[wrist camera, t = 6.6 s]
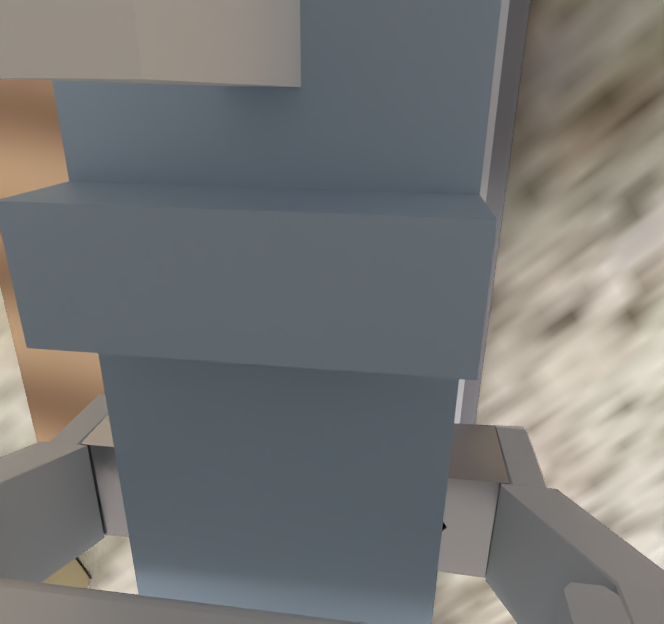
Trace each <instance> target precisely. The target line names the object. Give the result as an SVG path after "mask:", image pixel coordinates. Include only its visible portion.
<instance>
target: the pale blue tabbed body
mask: <svg viewBox="0 0 664 624" xmlns="http://www.w3.org/2000/svg"><path fill="white" fill-rule="evenodd" d="M501 1H502V0H0V79H21V80H51V81H52V83H53V89H54V95H55V101H56V107H57V112H58V118H59V124H60V130H61V136H62V142H63V148H64V154H65V160H66V166H67V172H68V178H69V181H68V182H64V183H60V184H56V185H52V186H49V187H45V188H41V189H37V190H33V191H29V192H26V193H22V194H18V195H14V196H10V197H6V198H3V199H0V230H1V235H2V239H3V244H4V248H5V253H6V257H7V262H8V266H9V271H10V275H11V280H12V284H13V289H14V293H15V298H16V302H17V307H18V311H19V316H20V320H21V325H22V329H23V333H24V338H25V342H26V347H27V348H32V349H46V350H60V351H74V352H88V353H98V355H99V361H100V367H101V373H102V379H103V385H104V391H105V397H106V403H107V409H108V415H109V421H110V427H111V432H112V438H113V444H114V450H115V456H116V462H117V468H118V474H119V480H120V486H121V492H122V498H123V504H124V510H125V515H126V521H127V527H128V533H129V539H130V545H131V551H132V557H133V563H134V569H135V575H136V581H137V587H138V593H139V595H143V596H151V597H159V598H167V599H176V600H184V601H192V602H200V603H208V604H216V605H224V606H232V607H240V608H248V609H256V610H264V611H272V612H281V613H289V614H297V615H305V616H313V617H320V618H328V619H336V620H344V621H352V622H360V623H368V624H432V616H433V607H434V598H435V589H436V580H437V571H438V562H439V553H440V545H441V536H442V527H443V518H444V509H445V500H446V491H447V482H448V473H449V464H450V455H451V447H452V438H453V429H454V420H455V411H456V402H457V393H458V384H459V379H465V380H477V377H478V369H479V361H480V353H481V346H482V338H483V330H484V322H485V314H486V306H487V298H488V290H489V282H490V274H491V267H492V259H493V251H494V243H495V235H496V227H497V219H496V217H495V216H494V214H493V213H492V211H491V210H490V209H489V207H488V206H487V204H486V203H485V201H484V200H483V198H482V197H481V196H480V188H481V179H482V171H483V162H484V153H485V144H486V135H487V126H488V117H489V108H490V99H491V90H492V82H493V73H494V64H495V55H496V46H497V37H498V28H499V19H500V10H501Z"/></svg>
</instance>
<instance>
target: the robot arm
mask: <svg viewBox="0 0 664 624" xmlns="http://www.w3.org/2000/svg"><path fill="white" fill-rule="evenodd" d="M104 535H112V536H125V537H129V533H128V527H127V521H126V515H125V510H124V504H123V498H122V492H121V486H120V480H119V474H118V468H117V462H116V456H115V450H114V444H113V438H112V432H111V427H110V421H109V415H108V409H107V403H106V397H105V394H100V395H98V396H97V397H96V398H95V399H94V400H93V401H92V402H91V403H90V404H88V405H87V406H86V407H85V408H84V409H83V410H82V411H81V412H80V413H79V414H78V415H77V416H76V417H75V418H74V419H73V420H72V421H71V422H70V423H69V424H68V425H67V426H66V427H65V428H64V429H62V430H61V431H60V432H59V433H58V434H57V435H56V436H55V437H54V438H53V439H52V440H51V441H50V442H45V441H40V442H38V443H35V444H33V445H30V446H28V447H25V448H23V449H20V450H18V451H15V452H13V453H10V454H8V455H5V456H3V457H0V624H368V623H360V622H352V621H344V620H336V619H328V618H320V617H313V616H305V615H297V614H289V613H281V612H272V611H264V610H256V609H248V608H240V607H232V606H224V605H216V604H208V603H200V602H192V601H184V600H176V599H167V598H159V597H151V596H143V595H135V594H127V593H119V592H111V591H103V590H95V589H87V588H79V587H71V586H64V585H56V584H48V583H42V582H43V581H45V580H46V579H47V578H49V577H50V576H52V575H53V574H54V573H56V572H57V571H58V570H60V569H61V568H63V567H64V566H65V565H67V564H68V563H70V562H71V561H72V560H74V559H75V558H77V557H78V556H79V555H81V554H82V553H84V552H85V551H86V550H88V549H89V548H90V547H92V546H93V545H95V544H96V543H97V542H99V541H100V540H102V539H103V538H104ZM438 571H440V572H448V573H455V574H462V575H469V576H476V577H483V578H486V582H487V583H488V584H489V586H490V587H491V588H492V590H493V591H494V592H495V594H496V595H497V596H498V598H499V599H500V600H501V602H502V603H503V604H504V606H505V607H506V608H507V610H508V611H509V613H510V614H511V615H512V617H513V618H514V619H515V621H516V622H517V623H518V624H664V570H663V569H661V568H660V567H659V566H657V565H656V564H655V563H653V562H652V561H651V560H649V559H648V558H647V557H646V556H644V555H643V554H642V553H640V552H639V551H638V550H636V549H635V548H634V547H632V546H631V545H630V544H628V543H627V542H626V541H624V540H623V539H622V538H621V537H619V536H618V535H617V534H615V533H614V532H613V531H611V530H610V529H609V528H607V527H606V526H605V525H603V524H602V523H601V522H599V521H598V520H597V519H596V518H594V517H593V516H592V515H590V514H589V513H588V512H586V511H585V510H584V509H582V508H581V507H580V506H578V505H577V504H576V503H574V502H573V501H572V500H571V499H569V498H568V497H567V496H565V495H564V494H563V493H561V492H560V491H559V490H557V489H552V488H547V485H546V482H545V479H544V477H543V474H542V471H541V468H540V465H539V463H538V460H537V457H536V454H535V451H534V449H533V446H532V443H531V440H530V438H529V435H528V432H527V429H525V428H524V427H521V426H499V425H476V424H459V423H454V429H453V438H452V447H451V455H450V464H449V473H448V482H447V491H446V500H445V509H444V518H443V527H442V536H441V545H440V553H439V562H438Z"/></svg>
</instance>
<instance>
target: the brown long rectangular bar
mask: <svg viewBox="0 0 664 624" xmlns="http://www.w3.org/2000/svg"><path fill="white" fill-rule="evenodd" d="M68 181H69V178H68V172H67V166H66V160H65V154H64V148H63V142H62V136H61V130H60V124H59V118H58V112H57V107H56V101H55V95H54V89H53V83H52V81H51V80H21V79H0V199H3V198H6V197H10V196H14V195H18V194H22V193H26V192H29V191H33V190H37V189H41V188H45V187H49V186H52V185H56V184H60V183H64V182H68ZM0 287H1V291H2V295H3V300H4V304H5V308H6V312H7V316H8V321H9V325H10V329H11V333H12V337H13V342H14V346H15V350H16V354H17V358H18V363H19V367H20V371H21V375H22V380H23V384H24V388H25V392H26V396H27V401H28V405H29V409H30V413H31V417H32V422H33V426H34V430H35V434H36V438H37V443H38V442H40V441H45V442H50V441H51V440H52V439H53V438H54V437H55V436H56V435H57V434H58V433H59V432H60V431H61V430H62V429H64V428H65V427H66V426H67V425H68V424H69V423H70V422H71V421H72V420H73V419H74V418H75V417H76V416H77V415H78V414H79V413H80V412H81V411H82V410H83V409H84V408H85V407H86V406H87V405H88V404H90V403H91V402H92V401H93V400H94V399H95V398H96V397H97V396H98V395H100V394H105V391H104V385H103V379H102V373H101V367H100V361H99V355H98V353H88V352H74V351H60V350H46V349H32V348H27V347H26V342H25V338H24V333H23V329H22V325H21V320H20V316H19V311H18V307H17V302H16V298H15V293H14V289H13V284H12V280H11V275H10V271H9V266H8V262H7V257H6V253H5V248H4V244H3V239H2V235H1V230H0Z"/></svg>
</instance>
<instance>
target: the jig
mask: <svg viewBox="0 0 664 624" xmlns="http://www.w3.org/2000/svg"><path fill="white" fill-rule="evenodd" d="M530 1H531V0H502V1H501V10H500V19H499V28H498V37H497V46H496V55H495V64H494V73H493V82H492V90H491V99H490V108H489V117H488V126H487V135H486V144H485V153H484V162H483V171H482V179H481V188H480V196H481V197H482V198H483V200H484V201H485V203H486V204H487V206H488V207H489V209H490V210H491V211H492V213H493V214H494V216H495V217H496V219H497V227H496V235H495V243H494V251H493V259H492V267H491V274H490V282H489V290H488V298H487V306H486V314H485V322H484V330H483V338H482V346H481V353H480V361H479V369H478V377H477V380H465V379H459V384H458V393H457V402H456V411H455V420H454V423H459V424H475V422H476V414H477V406H478V399H479V391H480V383H481V376H482V368H483V360H484V353H485V345H486V337H487V330H488V322H489V314H490V307H491V299H492V291H493V284H494V276H495V268H496V261H497V253H498V245H499V238H500V230H501V222H502V215H503V207H504V200H505V192H506V184H507V177H508V169H509V161H510V154H511V146H512V138H513V131H514V123H515V115H516V108H517V100H518V92H519V85H520V77H521V69H522V62H523V54H524V46H525V39H526V31H527V23H528V16H529V8H530Z"/></svg>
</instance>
